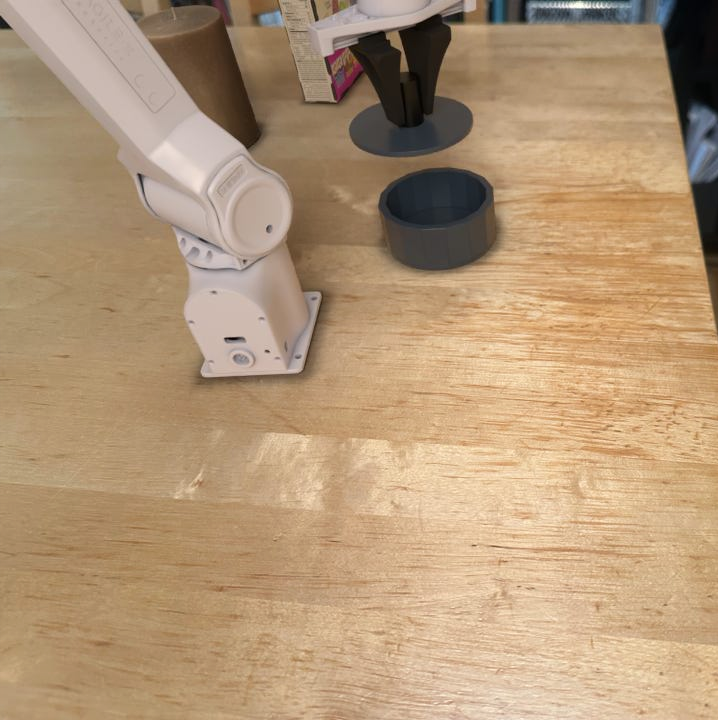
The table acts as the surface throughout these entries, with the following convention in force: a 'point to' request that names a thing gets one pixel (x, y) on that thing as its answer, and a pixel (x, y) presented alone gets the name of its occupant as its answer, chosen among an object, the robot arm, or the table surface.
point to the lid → (412, 125)
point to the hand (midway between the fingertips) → (410, 116)
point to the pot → (438, 218)
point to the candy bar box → (316, 73)
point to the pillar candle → (204, 65)
